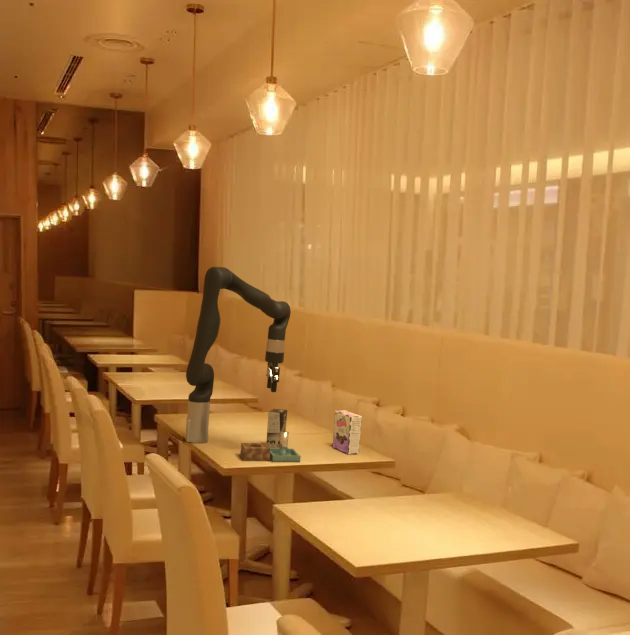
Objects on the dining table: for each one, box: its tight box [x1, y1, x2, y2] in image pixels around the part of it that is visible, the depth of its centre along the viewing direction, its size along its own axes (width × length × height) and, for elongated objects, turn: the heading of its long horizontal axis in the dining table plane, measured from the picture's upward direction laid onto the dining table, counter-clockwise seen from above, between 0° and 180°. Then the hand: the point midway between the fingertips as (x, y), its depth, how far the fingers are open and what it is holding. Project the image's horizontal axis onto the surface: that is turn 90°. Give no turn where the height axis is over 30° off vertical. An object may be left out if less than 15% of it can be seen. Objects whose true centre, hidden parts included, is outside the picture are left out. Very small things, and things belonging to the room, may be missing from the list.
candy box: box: [332, 409, 363, 455], centre depth 335 cm, size 14×6×16 cm, turn 27°
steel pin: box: [279, 430, 289, 455], centre depth 314 cm, size 3×3×10 cm
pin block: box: [240, 442, 271, 462], centre depth 311 cm, size 10×10×5 cm
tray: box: [270, 448, 301, 463], centre depth 314 cm, size 11×13×2 cm
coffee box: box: [265, 408, 288, 448], centre depth 331 cm, size 9×6×16 cm
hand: (271, 390), depth 318 cm, fingers open, 8 cm apart
